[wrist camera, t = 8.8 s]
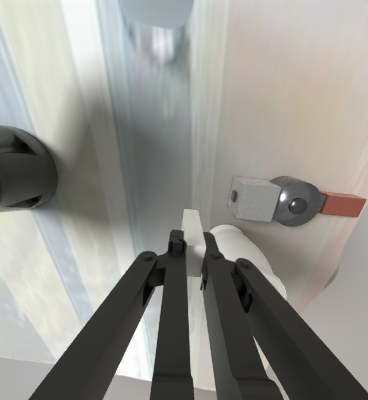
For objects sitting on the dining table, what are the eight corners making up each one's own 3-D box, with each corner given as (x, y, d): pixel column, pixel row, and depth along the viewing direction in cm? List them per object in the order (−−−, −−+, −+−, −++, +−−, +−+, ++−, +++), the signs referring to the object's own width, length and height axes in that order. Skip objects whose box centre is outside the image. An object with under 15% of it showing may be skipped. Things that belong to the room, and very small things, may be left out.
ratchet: (237, 210, 35) (246, 223, 29) (246, 171, 32) (258, 178, 27) (341, 221, 35) (369, 235, 30) (358, 183, 32) (392, 192, 27)
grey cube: (225, 205, 34) (233, 218, 28) (231, 175, 32) (241, 183, 26) (256, 208, 34) (270, 222, 28) (264, 179, 32) (281, 187, 26)
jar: (217, 268, 39) (235, 339, 25) (190, 237, 37) (192, 299, 23) (257, 243, 37) (301, 307, 23) (231, 209, 34) (262, 257, 20)
